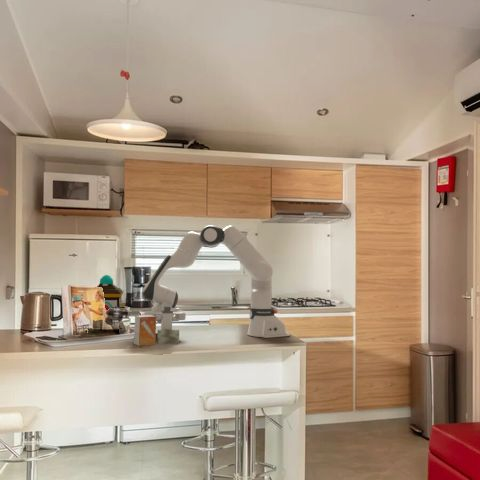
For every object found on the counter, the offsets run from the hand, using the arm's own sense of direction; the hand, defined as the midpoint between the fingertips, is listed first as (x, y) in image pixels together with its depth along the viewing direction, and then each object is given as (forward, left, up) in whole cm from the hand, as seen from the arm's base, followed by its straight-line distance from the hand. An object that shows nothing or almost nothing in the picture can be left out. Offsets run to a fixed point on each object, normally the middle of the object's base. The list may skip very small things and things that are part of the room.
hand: (167, 318), depth 214 cm
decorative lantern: (+27, -36, -11) cm, 46 cm away
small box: (+11, +5, -11) cm, 16 cm away
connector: (0, -1, -6) cm, 7 cm away
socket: (0, -1, -11) cm, 11 cm away
